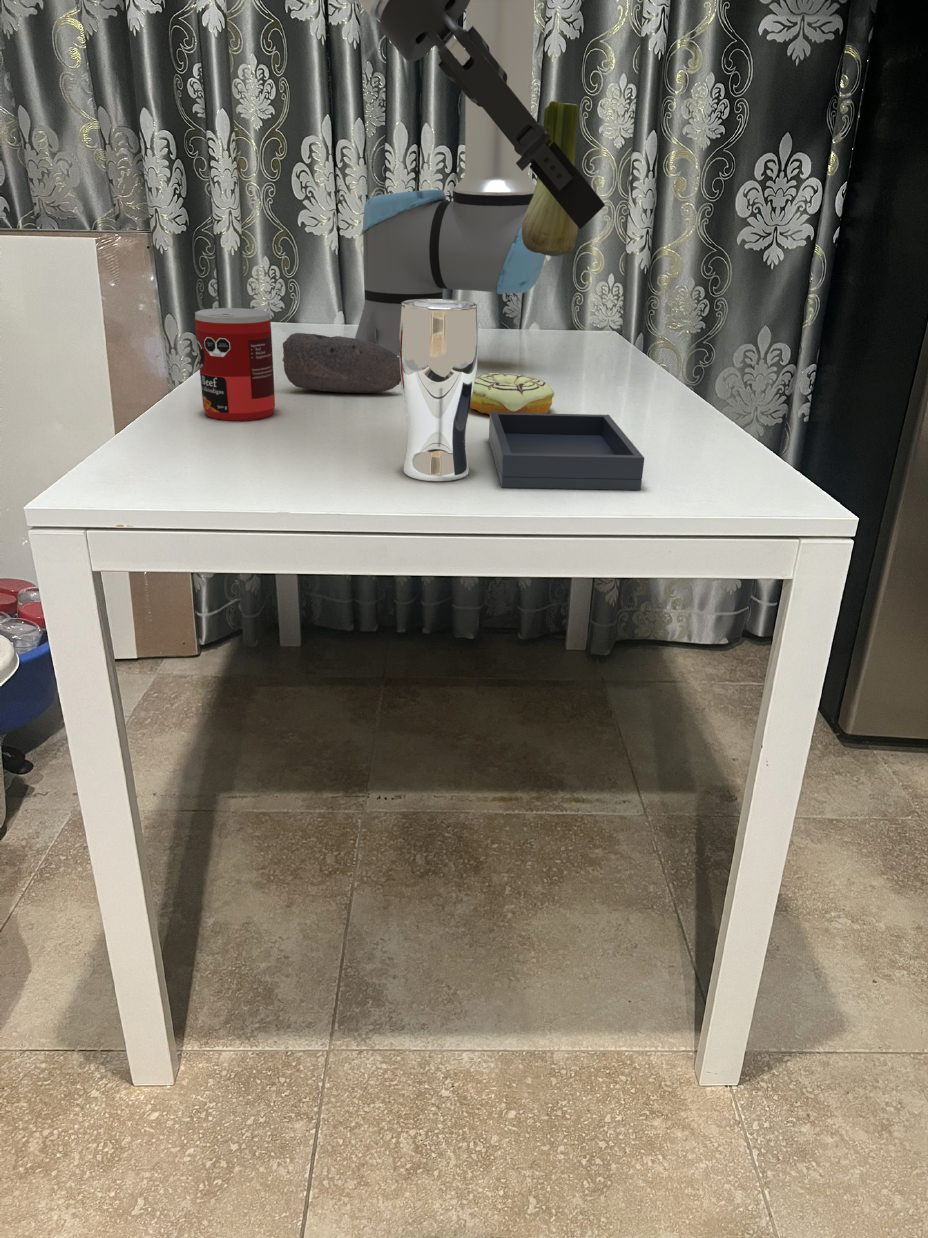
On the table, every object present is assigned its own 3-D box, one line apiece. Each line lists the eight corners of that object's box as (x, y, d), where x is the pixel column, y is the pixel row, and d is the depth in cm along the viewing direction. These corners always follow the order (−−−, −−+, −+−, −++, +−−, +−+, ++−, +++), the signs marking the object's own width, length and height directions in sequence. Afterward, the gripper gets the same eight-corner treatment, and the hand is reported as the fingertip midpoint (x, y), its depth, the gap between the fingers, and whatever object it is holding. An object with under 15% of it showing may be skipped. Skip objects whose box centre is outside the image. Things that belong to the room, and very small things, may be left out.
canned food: (198, 408, 105) (189, 308, 100) (267, 404, 108) (261, 307, 103) (209, 423, 98) (200, 317, 94) (282, 418, 101) (277, 316, 97)
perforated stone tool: (407, 391, 117) (407, 335, 114) (400, 399, 112) (400, 341, 109) (293, 384, 118) (291, 329, 115) (282, 393, 114) (278, 335, 111)
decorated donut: (522, 424, 103) (524, 391, 101) (445, 410, 108) (446, 377, 106) (567, 409, 110) (569, 377, 109) (493, 396, 116) (495, 366, 114)
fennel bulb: (573, 259, 78) (586, 98, 72) (516, 256, 78) (525, 96, 73) (577, 254, 83) (590, 104, 78) (524, 252, 84) (533, 102, 78)
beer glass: (414, 486, 80) (415, 309, 74) (388, 465, 86) (387, 298, 80) (485, 479, 83) (493, 307, 76) (455, 459, 89) (460, 297, 82)
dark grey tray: (488, 440, 96) (489, 411, 94) (606, 442, 96) (609, 414, 95) (501, 487, 81) (503, 454, 80) (640, 490, 82) (644, 457, 80)
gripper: (399, 41, 83) (563, 242, 88) (348, 4, 66) (555, 254, 72) (458, -29, 80) (624, 183, 86) (421, -86, 63) (630, 182, 69)
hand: (592, 215), depth 79 cm, fingers closed on fennel bulb, 6 cm apart
